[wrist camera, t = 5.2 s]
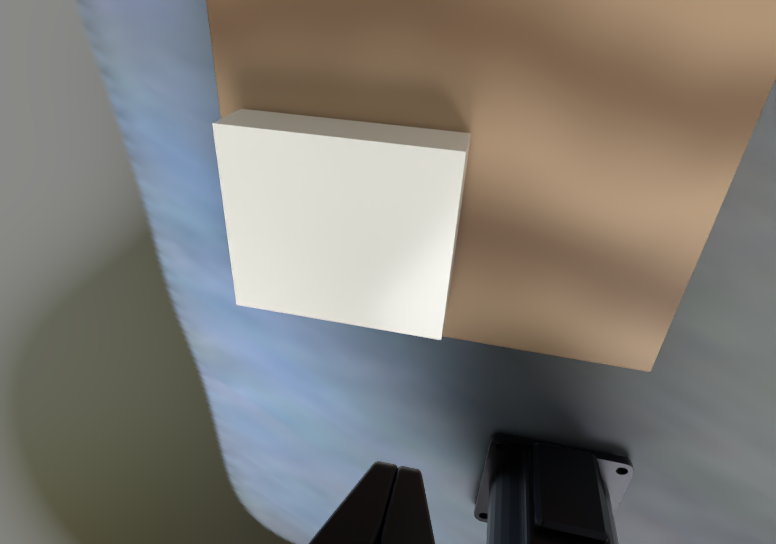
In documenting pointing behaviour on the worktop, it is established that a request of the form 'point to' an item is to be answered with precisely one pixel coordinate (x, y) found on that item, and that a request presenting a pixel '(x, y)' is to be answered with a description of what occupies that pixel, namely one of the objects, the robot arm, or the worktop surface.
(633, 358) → the board
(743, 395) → the worktop surface
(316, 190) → the tile
